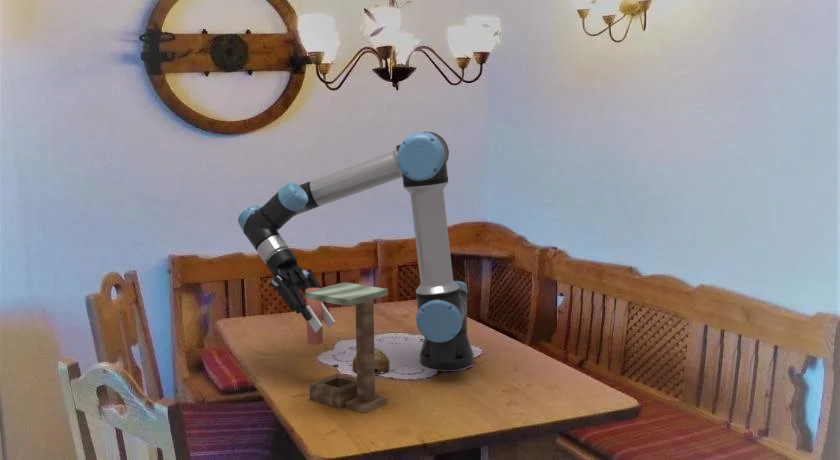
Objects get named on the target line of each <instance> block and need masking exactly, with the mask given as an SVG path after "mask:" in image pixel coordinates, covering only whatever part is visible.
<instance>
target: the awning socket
mask: <svg viewBox="0 0 840 460" xmlns="http://www.w3.org/2000/svg"><path fill="white" fill-rule="evenodd" d="M388 295H389V289H388V288H385V287H384V288H383V287H377V286H371V285H363V284H358V283H352V282H347V281H346V282H345V281H344V282H340V283H336V284H332V285H329V286H324V287H321V288H320V289H316V290H312V291H308V292H305V294H304V299H305V300H306V299H311V300H316V301H322V302H324V303H329V304H334V305H338V306H339V305H340V306H345V307H353V306H354V307H355V340H356V341H355V343H356V349H355V350H356V355H357V372H356V377H353V376H349V375H345V374H342V373H338V372H337V373H335V374H332V375H329V376H327V377H325V378H321V379H319V380H316V381H314V382H311V383H309V385H308V386H309V389H308V390H309V400H310V401H312V402H316V403H320V404H324V405H327V406H329V407H333V408H338V409H342V408H344V407H345V408H346V409H349V410H352V411H355V412H359V413H362V414H366V413H369V412H371V411H373V410H375V409H377V408H380V407H383V406H384V405H386V404H388V401H387V397H386V396H383V395H379V394H376V383H375V382H376V374H375V362H374V348H375V320H374V319H375V314H374V312H375V311H374V300H375V299H380V298H382V297H383V298H384V297H386V296H388Z"/></svg>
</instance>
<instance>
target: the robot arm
mask: <svg viewBox="0 0 840 460" xmlns="http://www.w3.org/2000/svg"><path fill="white" fill-rule="evenodd" d="M449 152H450V151H449V147H448V144H447V142H446V140H445V139H444V138H443V137H442V136H441V135H440V134H437V133H436V132H434V131H433V132H432V131H419V132H415V133H412V134H409V136H407V137H406V138H404V139H403V141H402V142H401V143H400V144H398V145H395V147H394V149H393V150H392V151H389V152H387V153H383V154H381V155H379V156H375V157H373V158H370V159H367V160H365V161H361V162H358V163H356V164H354V165H351V166H347V167H346V168H343V169H341V170H337V171H334V172H331V173H328V174H326V175H323V176H321V177H318V178H315V179H312V180H311V181H307V182H304V183H302V184H298V183H295V182H294V181H288V182H287V183H286V184H285V185H284V186H282V187H281V188H279V189H278V191H277V192H276V193H275V194H273V196H272V197H270V199H269V200H268V201H266V203H265V204H264V205H262V206H259V205H256V204H254V205H251V206H248V207H247V208H245V209H243V210H242V211H241V212H240V213H239V215H238V217H237V223H238V226H240V229H241V230H242V232H243V234H244V235H245V237H246V238H247V239H248V241H249V242H250V244H251V245H252V246H253V248H254V249H255V251H256V252H257V254H258V255H259V257H260V259H261V260H262V261H263V263H264V264H265V265H266V267H267V270H268V271H269V272H270V273H271V275H272V276H274V277H273V279H272V280H271V281H270V286H271V287H273V288H274V289H276V292H277V293H278V294H279V296H280V297H281V298H282V300H283V301H284V302H285V304H286V305H287V307H288V308H289V309H290V311H291V312H296V314H298V315H299V314H300V313H301V316H302V317H303V318H304V320H305V321H306V322H307V321H308V322H309V324H310V325H311V326H312V328H313V329H314V331H315V332H318V331H319V329H320V328H321V327H323V326H324V325H325V326H326V327H327V329H330V328H332V326H333V325H334V324H335V323H336V320H335V318H334V317H333V316H332V315H331V312H330V309H329V308H328V307H327V305H326V304H325V302H322V322H323V323H324V325H323V323H322V324H321V322H320V321H319V319H318V318H317V316H316V315H315V313H314V312H313V310H312V309H311V307H310V306H309V305H308V306H306V301H305V300H304V299H303V296H302V294H301V292H303V294H304V295H305V289H307V288H322V287H321V285H320V283H319V282H318V280H317V279H316V277H315V276H314V272H313V270H312V269H311V268H308V269H307V270H306V269H305V270H303V268H302V267H301V266H299V265H298V260H297V257H296V256H295V254H294V253H293V252H292V250H291V249H290V247H289V245H288V244H287V242H286V241H285V240H284V238H283V237H282V236H281V234H280V233H279V230H280V229H282V227H284V226H285V224H287V223H288V222H289V221H290V220H291V219H293V218H294V217H295V216H298V215H300V214H303V213H306V212H308V211H310V210H313V209H316V208H319V207H321V206H325V205H328V204H331V203H333V202H336V201H338V200H341V199H344V198H347V197H350V196H353V195H356V194H358V193H362V192H364V191H367V190H370V189H373V188H376V187H378V186H381V185H384V184H387V183H389V182H392V181H396V180H398V179H400V178H402V183H403V185H402V186H403V188H404V190H406V191H407V192H408V193H409V195H410V203H411V211H412V212H411V213H412V221H413V222H412V223H413V228H414V230H413V231H414V236H415V237H414V238H415V245H416V255H417V256H416V257H417V264H418V272H419V280H420V284H419V285H418V287H417V288H416V289H415V297H416V306H417V312H416V315H415V323H416V327H417V329H418V331H419V333H420V334H421V336H423V337H424V339H423V342H422V345H421V349H420V351H419V363H420V364H421V365H423V366H425V367H428V368H431V369H441V370H453V369H461V368H465V367H468V366H471V365H472V364H473V363H474V352H473V348H472V345H471V343H470V340H469V337H468V294H469V292H468V287H467V283H466V282H464V281H461V280H454V274H453V267H452V259H451V250H450V249H451V247H450V239H449V230H448V220H447V211H446V202H445V195H444V194H445V192H444V189H445V188H446V186H447V185H448V184H449V176H448V166H447V163H448V161H449V158H450V157H449V155H450V153H449ZM300 290H301V292H300Z"/></svg>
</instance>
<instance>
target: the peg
mask: <svg viewBox="0 0 840 460" xmlns="http://www.w3.org/2000/svg"><path fill="white" fill-rule="evenodd" d="M316 289H320V288H307V289H305V292H308V291H312V290H316ZM305 304H306V306H308V305H309V306H310V307H311V309H312V310H313V312H314V313H315V315H316V316H317V318H318V319H319V321H320V322H321V324H322V325H323V320H322V301H316V300H311V299H305ZM306 306H305V307H306ZM323 329H324V327H323V326H322V327H321V328H320V329H319V331H318V332H315V331H314V329H313V328H312V326H311V325H310V324H309V322H308V321H306V338H307V339H306V342H307V344H308V345H313V346H314V345H315V346H316V345H321V344H323V343H324V337H323V336H324V335H323V334H324V333H323Z"/></svg>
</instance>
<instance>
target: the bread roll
mask: <svg viewBox="0 0 840 460" xmlns="http://www.w3.org/2000/svg"><path fill="white" fill-rule="evenodd" d="M374 362H375V375H378V374H377V373H380V374H382V373H381V372H385V371H387V370H388V371H389V368H390V360H389V357H388V355H387V354H386V353H384V352H383V351H382V350H381V349H379V348H376V347H374ZM352 370H353V371H354V372H356V373H357V354H356V355H355V356H354V358H353V359H352ZM388 371H387V372H388ZM385 373H386V372H385Z"/></svg>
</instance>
